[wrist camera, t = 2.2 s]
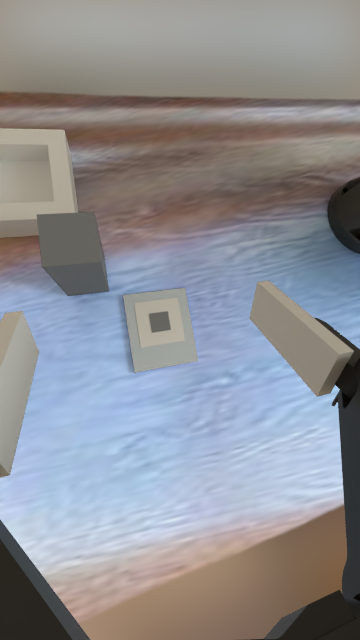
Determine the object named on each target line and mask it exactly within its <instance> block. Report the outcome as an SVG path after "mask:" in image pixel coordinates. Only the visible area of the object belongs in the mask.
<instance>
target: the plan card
mask: <svg viewBox="0 0 360 640" xmlns="http://www.w3.org/2000/svg"><path fill="white" fill-rule="evenodd" d="M123 299H124V306H125V312H126V319H127V326H128V333H129V339H130V346H131V353H132V360H133V366H134V373H136V372H141V371H146V370H152V369H157V368H163V367H168V366H173V365H179V364H184V363H190V362H195V361H198V357H197V351H196V346H195V340H194V335H193V329H192V324H191V318H190V313H189V307H188V302H187V296H186V291H185V288H179V289H170V290H162V291H153V292H145V293H136V294H128V295H123Z"/></svg>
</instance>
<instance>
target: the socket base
mask: <svg viewBox="0 0 360 640" xmlns="http://www.w3.org/2000/svg"><path fill="white" fill-rule="evenodd" d="M57 213H78V205H77V198H76V190H75V182H74V175H73V167H72V159H71V153H70V149H69V146H68V142H67V139H66V135H65V131H64V130H48V129H0V238H6V237H22V236H38V235H39V233H38V224H37V215H36V214H57Z"/></svg>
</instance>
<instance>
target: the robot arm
mask: <svg viewBox="0 0 360 640" xmlns="http://www.w3.org/2000/svg"><path fill="white" fill-rule="evenodd" d="M328 217H329V222H330V225H331V227H332V229H333V231H334V233H335V235H336V236H337V237H338V239H339V240H340V241H341V242H342V243H343V244H344V245H345V246H346V247H348V248H349V249H351V250H353V251H355V252H358V253H360V177H358V178H355V179H353V180H351V181H349V182H347V183H345V184H344V185H343V186H342V187H340V188H339V189H338V190H337V191H336V192H335V193H334V194H333V195H332V197H331V199H330V202H329V206H328ZM250 319H251V321H252V322H253V323H254V324H255V325H256V326H257V328H258V329H259V330H260V331H261V332H262V333H263V335H264V336H265V337H266V338H267V339H268V340H269V341H270V343H271V344H272V345H273V346H274V347H275V348H276V350H277V351H278V352H279V353H280V354H281V355H282V357H283V358H284V359H285V360H286V361H287V362H288V364H289V365H290V366H291V367H292V368H293V369H294V370H295V372H296V373H297V374H298V375H299V376H300V377H301V379H302V380H303V381H304V382H305V383H306V384H307V386H308V387H309V388H310V389H311V390H312V391H313V393H314V394H315V395H316V396H321V395H325V394H329V393H331V391H332V389H333V387H334V386H335V385H336V386H337V387H338V388H339V389H340V391H339V392H338V394H337V396H336V397H335V399H334V401H333V403H332V406H335V404H336V403H337V402H338V408H339V424H340V440H341V456H342V472H343V489H344V505H345V521H346V535H347V536H346V537H347V561H346V564H345V567H344V571H343V577H342V593H341V592H340V590H338V591H336V592H334V593H332V594H330V595H327V596H325V597H324V598H321V599H319V600H317V601H315V602H313V603H311V604H309V605H307V606H305V607H303V608H301V609H299V610H297V611H295V612H293V613H291V614H289V615H287V616H285V617H283V618H281V620H280V621H279V622H278V623H277V624H276V625H275V626H274V627H273V629H272V630H271V631H270V632H269V633H268V634H267V635H266V637H265V638H264V639H255V640H360V349H358V348H357V347H356V346H355V345H353V344H352V343H351V342H350V341H348V340H347V339H346V338H345V337H343V336H342V335H340V333H338V332H337V331H336V330H334V328H332V327H331V326H330V325H329V324H327V323H326V322H324V321H322V320H320V319H318V318H313V317H312V316H311V315H310V314H308V313H307V312H306V311H305V310H304V309H302V308H301V307H300V306H299V305H298V304H296V303H295V302H294V301H293V300H291V299H290V298H289V297H288V296H287V295H285V294H284V293H283V292H282V291H281V290H279V289H278V288H277V287H276V286H274V285H273V284H272V283H271V282H270V281H261V282H257V287H256V291H255V296H254V301H253V305H252V310H251V314H250ZM38 355H39V350H38V348H37V345H36V343H35V341H34V338H33V336H32V333H31V331H30V328H29V326H28V324H27V321H26V319H25V316H24V314H23V312H22V311H18V312H10V313H5V314H4V316H3V318H2V320H1V322H0V477H4V476H8V475H10V472H11V468H12V464H13V460H14V456H15V451H16V447H17V443H18V439H19V435H20V430H21V426H22V422H23V418H24V414H25V409H26V405H27V401H28V397H29V393H30V388H31V384H32V380H33V376H34V371H35V367H36V363H37V359H38ZM0 640H90V639H89V637H88V636H87V635H86V634H85V632H84V631H83V629H82V628H81V627H80V625H79V624H78V623H77V621H76V620H75V619H74V617H73V616H72V615H71V613H70V612H69V611H68V609H67V608H66V607H65V605H64V604H63V603H62V601H61V600H60V599H59V597H58V596H57V595H56V593H55V592H54V591H53V589H52V588H51V587H50V585H49V584H48V583H47V581H46V580H45V579H44V577H43V576H42V575H41V573H40V572H39V571H38V569H37V568H36V567H35V565H34V564H33V563H32V561H31V560H30V559H29V557H28V556H27V555H26V553H25V552H24V551H23V549H22V548H21V547H20V545H19V544H18V543H17V541H16V540H15V539H14V537H13V536H12V535H11V533H10V532H9V531H8V529H7V528H6V527H5V525H4V524H3V523H2V521H1V520H0ZM252 640H254V639H252Z"/></svg>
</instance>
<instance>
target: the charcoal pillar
mask: <svg viewBox="0 0 360 640" xmlns="http://www.w3.org/2000/svg"><path fill="white" fill-rule="evenodd" d="M36 215H37V224H38V233H39V243H40V252H41V261H42V267H43V269H44V270H45V271H46V272H47V273H48V274H49V275H50V276H51V277H52V279H53V280H54V281H55V282H56V283H57V284H58V285H59V286H60V287H61V288H62V290H63V291H64V292H65V293H66V294H67V295H68V296H73V295H81V294H90V293H99V292H108V291H109V287H108V280H107V273H106V266H105V259H104V253H103V249H102V244H101V240H100V235H99V231H98V227H97V222H96V218H95V214H94V212H78V213H57V214H36Z"/></svg>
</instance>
